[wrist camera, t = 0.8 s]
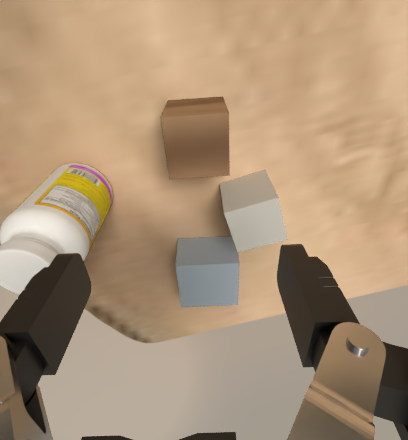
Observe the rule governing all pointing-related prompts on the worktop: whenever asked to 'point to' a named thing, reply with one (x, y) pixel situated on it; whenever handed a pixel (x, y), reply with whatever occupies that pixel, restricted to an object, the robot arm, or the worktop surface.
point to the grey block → (252, 211)
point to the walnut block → (196, 137)
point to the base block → (207, 271)
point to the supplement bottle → (53, 223)
